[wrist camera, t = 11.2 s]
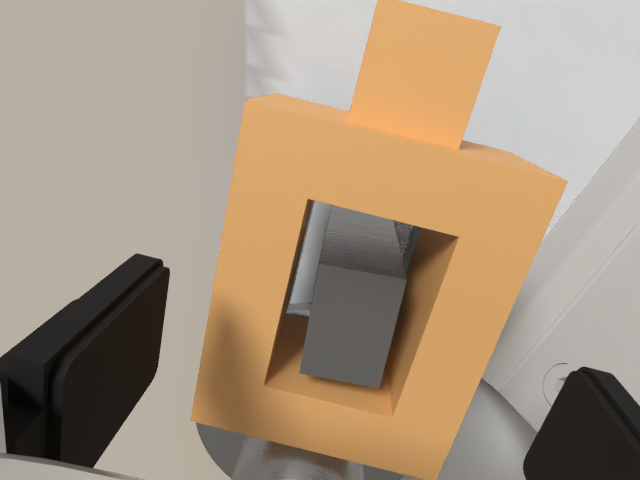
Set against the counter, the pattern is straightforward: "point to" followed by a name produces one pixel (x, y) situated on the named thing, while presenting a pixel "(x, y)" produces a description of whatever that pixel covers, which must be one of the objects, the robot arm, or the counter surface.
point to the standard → (282, 460)
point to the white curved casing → (578, 295)
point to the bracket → (388, 202)
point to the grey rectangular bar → (354, 299)
